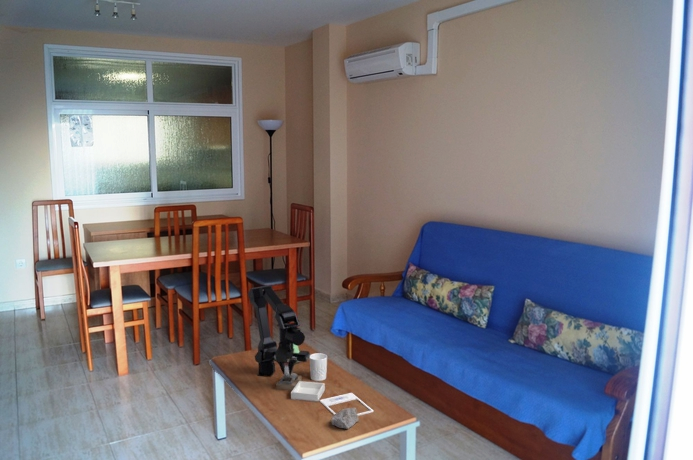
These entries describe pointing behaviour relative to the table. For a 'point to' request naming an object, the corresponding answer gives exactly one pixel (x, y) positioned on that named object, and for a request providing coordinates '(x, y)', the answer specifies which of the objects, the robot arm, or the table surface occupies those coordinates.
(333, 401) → the photo frame
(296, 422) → the table surface
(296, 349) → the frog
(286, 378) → the pin
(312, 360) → the white cup
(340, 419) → the stone
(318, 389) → the tray
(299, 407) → the table surface
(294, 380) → the block
